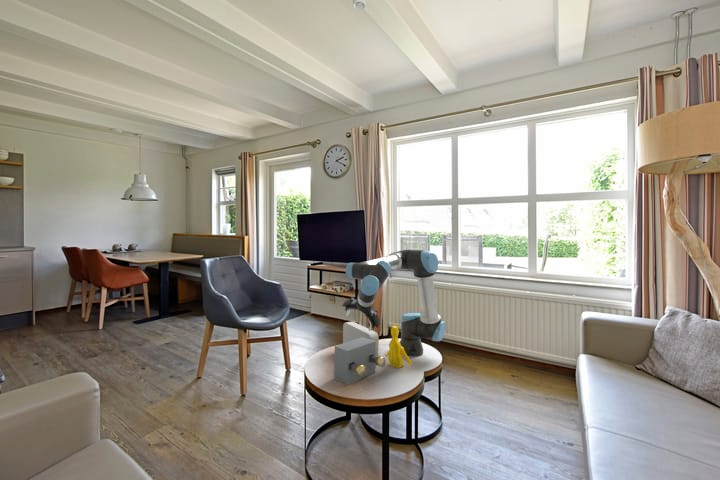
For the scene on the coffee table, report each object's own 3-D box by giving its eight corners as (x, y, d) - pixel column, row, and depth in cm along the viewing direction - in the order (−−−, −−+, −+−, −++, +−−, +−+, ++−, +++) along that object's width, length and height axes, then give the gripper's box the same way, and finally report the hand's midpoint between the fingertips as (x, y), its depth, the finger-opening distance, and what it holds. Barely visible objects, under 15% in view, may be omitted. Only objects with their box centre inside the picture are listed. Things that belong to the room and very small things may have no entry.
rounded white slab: (381, 365, 175) (382, 332, 174) (370, 368, 170) (370, 334, 170) (353, 349, 198) (353, 320, 198) (342, 351, 194) (343, 321, 194)
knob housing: (362, 366, 172) (362, 337, 172) (375, 372, 166) (375, 341, 166) (334, 378, 158) (334, 346, 158) (346, 384, 152) (347, 351, 151)
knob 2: (371, 360, 167) (371, 351, 167) (385, 365, 160) (385, 356, 160) (365, 362, 164) (366, 354, 163) (379, 368, 157) (379, 359, 157)
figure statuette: (414, 369, 171) (415, 327, 170) (405, 373, 165) (406, 330, 165) (388, 359, 183) (388, 320, 183) (379, 363, 178) (379, 323, 177)
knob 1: (352, 368, 157) (352, 359, 157) (366, 374, 150) (366, 364, 150) (345, 370, 153) (346, 361, 153) (359, 377, 147) (359, 367, 147)
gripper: (337, 291, 147) (334, 313, 163) (385, 321, 141) (376, 341, 157) (346, 280, 152) (342, 303, 168) (393, 308, 146) (383, 329, 162)
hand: (358, 321), depth 163 cm, fingers open, 13 cm apart
